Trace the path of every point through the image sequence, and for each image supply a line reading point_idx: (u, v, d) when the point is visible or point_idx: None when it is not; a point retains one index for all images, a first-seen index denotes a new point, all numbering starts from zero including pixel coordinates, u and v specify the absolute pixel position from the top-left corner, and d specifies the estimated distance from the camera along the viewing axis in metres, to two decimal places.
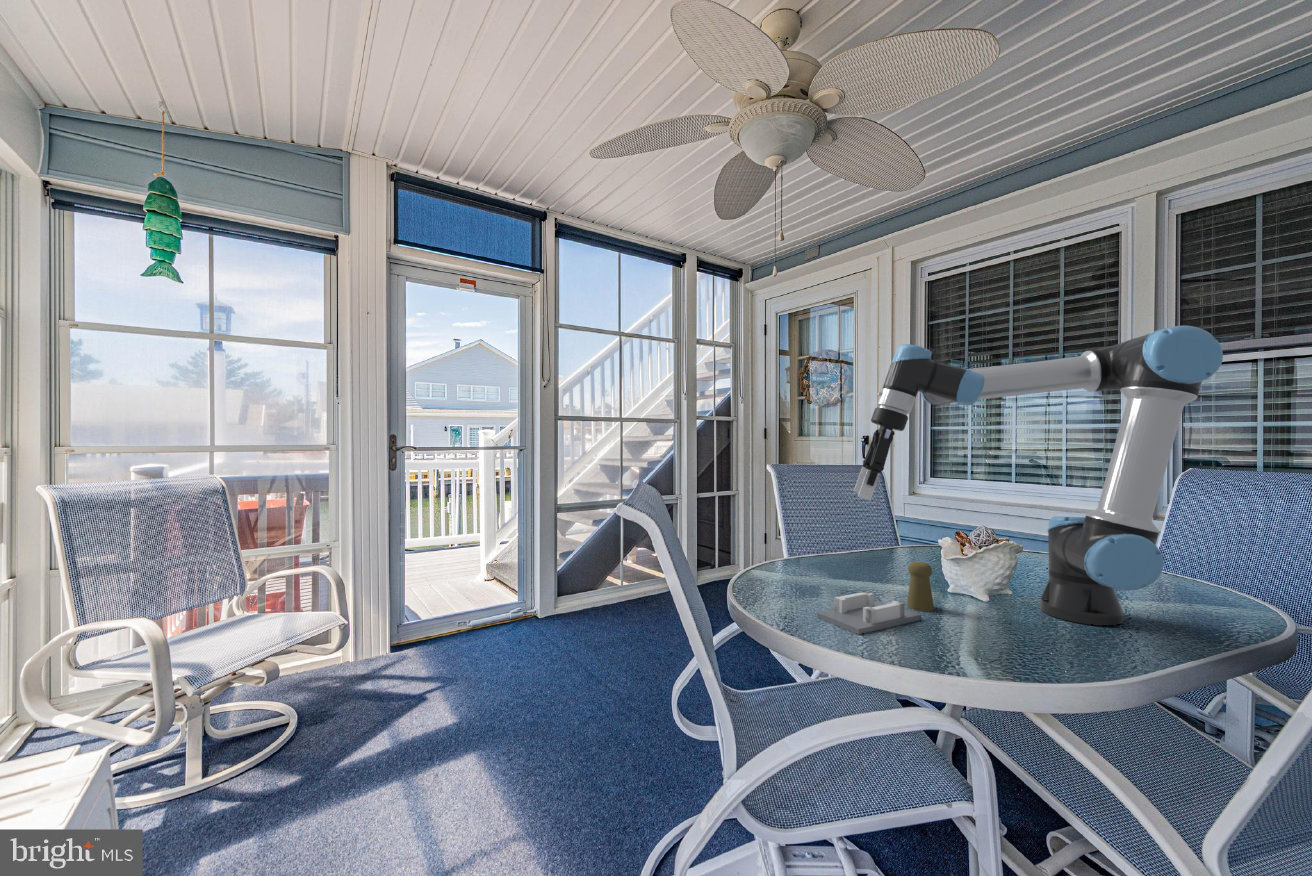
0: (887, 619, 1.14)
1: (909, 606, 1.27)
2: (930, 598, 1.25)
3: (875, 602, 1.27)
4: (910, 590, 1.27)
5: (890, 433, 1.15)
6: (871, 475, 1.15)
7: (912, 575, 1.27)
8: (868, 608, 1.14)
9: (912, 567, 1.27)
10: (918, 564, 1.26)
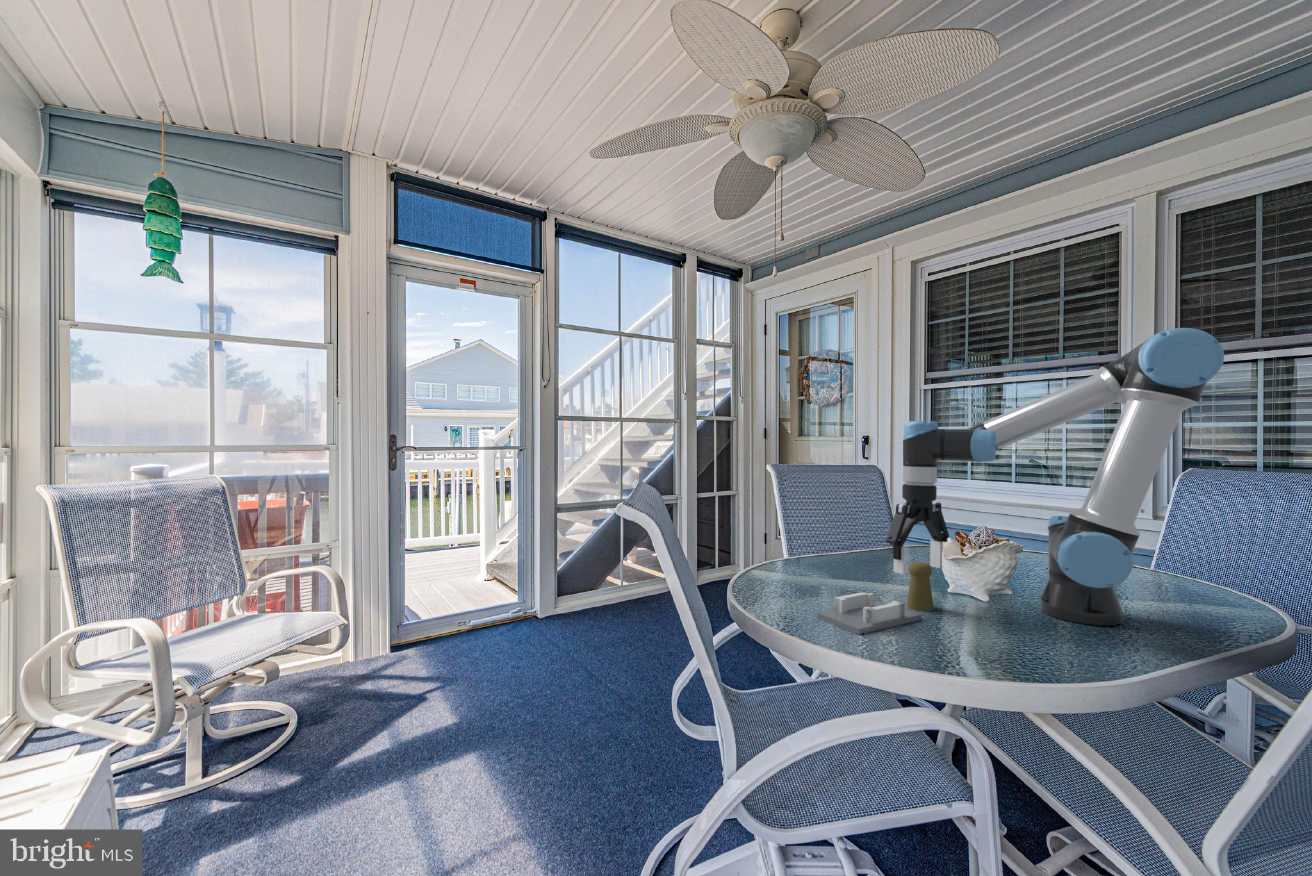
0: (887, 619, 1.14)
1: (909, 606, 1.27)
2: (930, 598, 1.25)
3: (875, 602, 1.27)
4: (910, 590, 1.27)
5: (902, 507, 1.24)
6: (894, 550, 1.24)
7: (912, 575, 1.27)
8: (868, 608, 1.14)
9: (912, 567, 1.27)
10: (918, 564, 1.26)
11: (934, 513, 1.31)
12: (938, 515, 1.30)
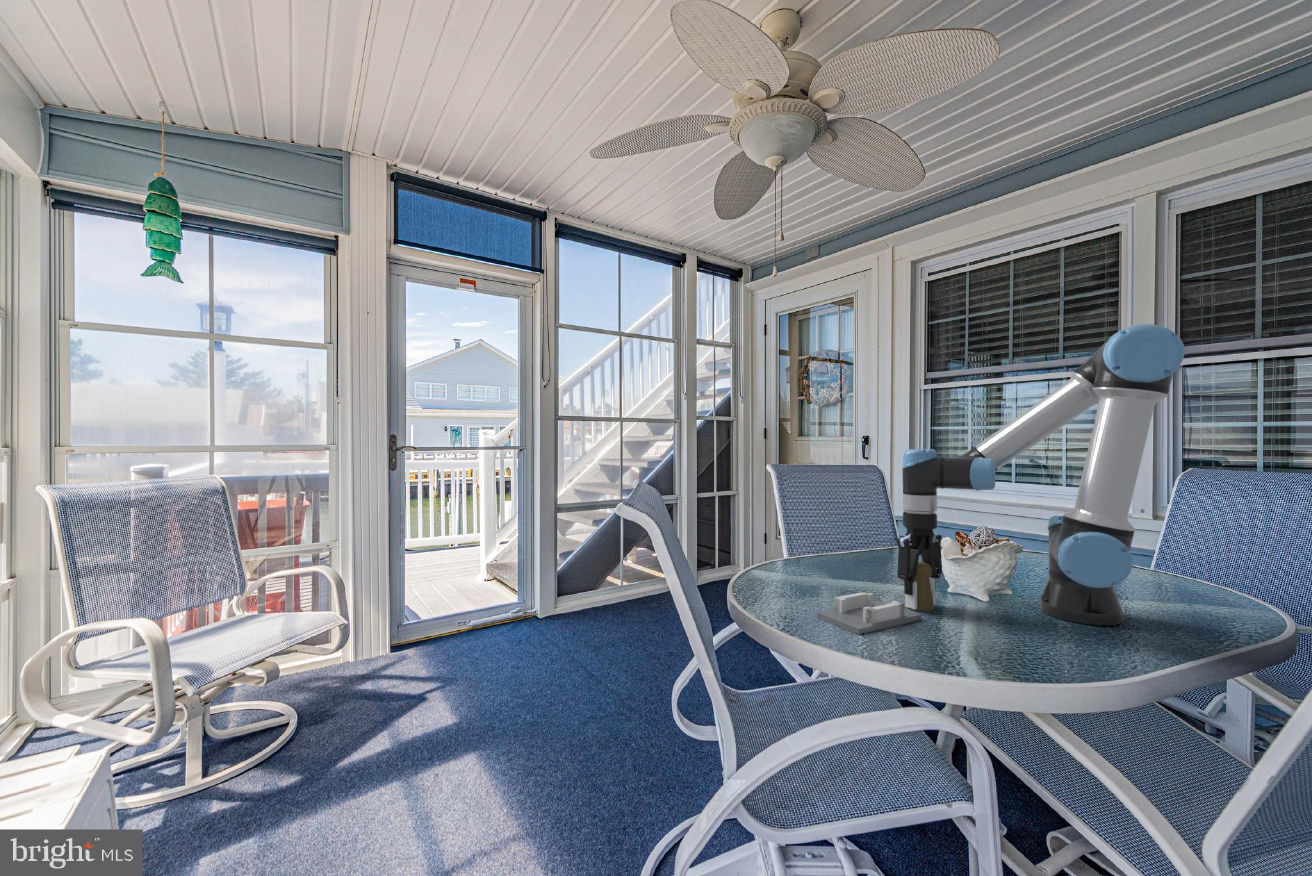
0: (887, 619, 1.14)
1: None
2: (930, 598, 1.25)
3: (875, 602, 1.27)
4: None
5: (903, 542, 1.24)
6: (905, 585, 1.26)
7: None
8: (868, 608, 1.14)
9: None
10: (918, 564, 1.26)
11: (933, 544, 1.30)
12: (936, 547, 1.29)
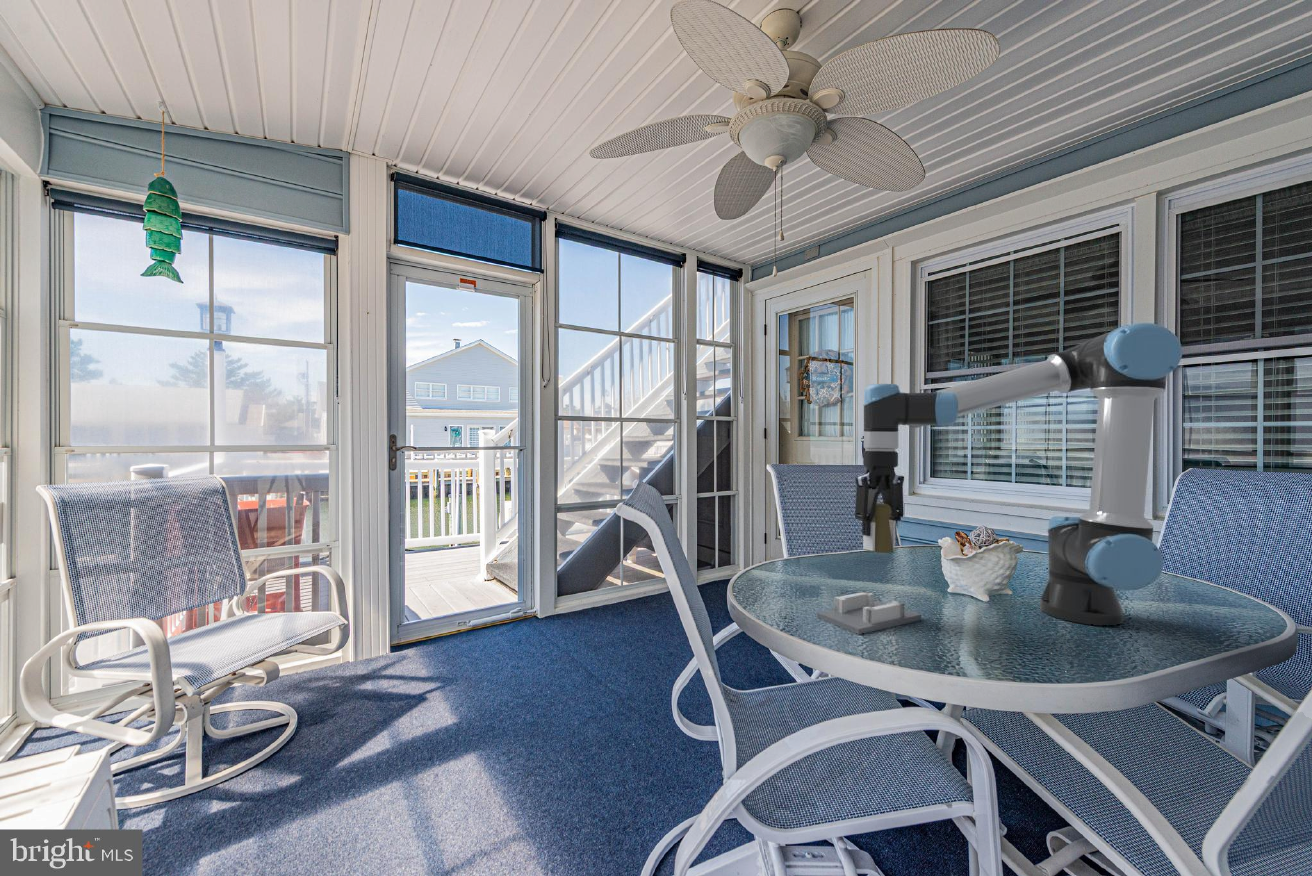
0: (887, 619, 1.14)
1: None
2: (889, 539, 1.20)
3: (875, 602, 1.27)
4: None
5: (861, 480, 1.19)
6: (863, 525, 1.20)
7: None
8: (868, 608, 1.14)
9: None
10: (877, 504, 1.21)
11: (894, 486, 1.24)
12: (898, 488, 1.23)
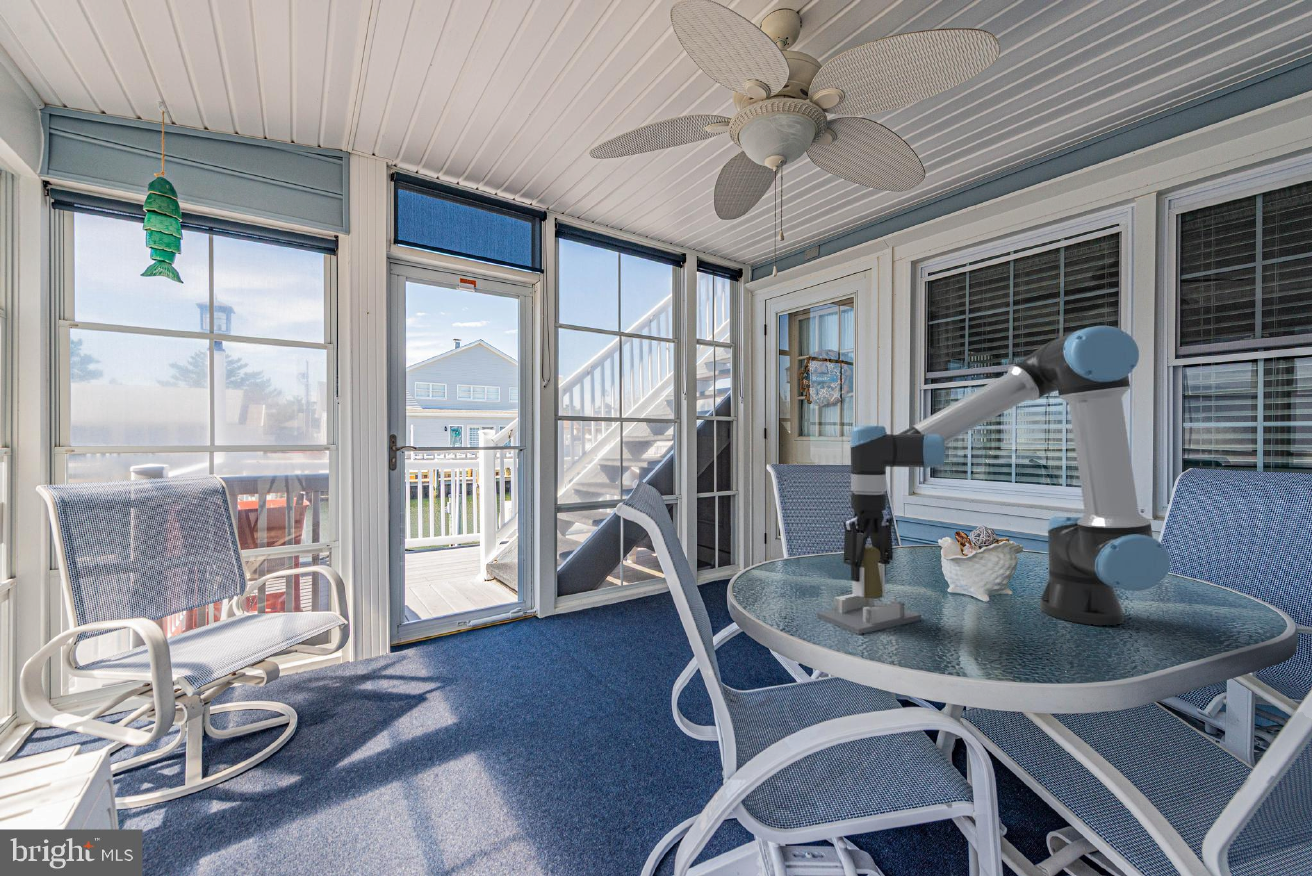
0: (887, 619, 1.14)
1: None
2: (878, 584, 1.17)
3: (875, 602, 1.27)
4: None
5: (849, 525, 1.16)
6: (852, 571, 1.17)
7: None
8: (868, 608, 1.14)
9: None
10: (866, 549, 1.18)
11: (883, 528, 1.22)
12: (886, 530, 1.21)
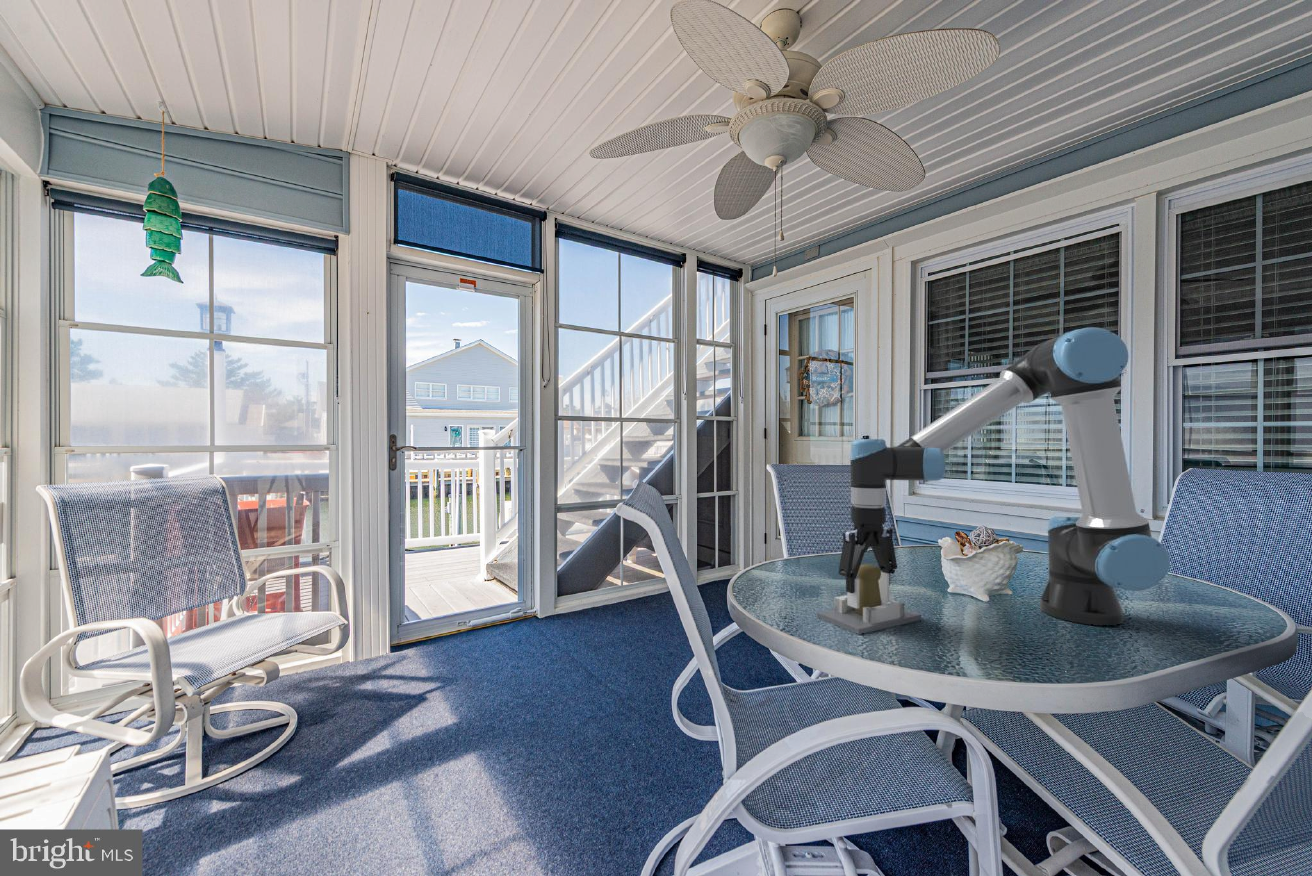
0: (887, 619, 1.14)
1: (857, 612, 1.19)
2: (878, 603, 1.17)
3: None
4: None
5: (848, 536, 1.16)
6: (847, 582, 1.17)
7: (860, 578, 1.19)
8: (868, 608, 1.14)
9: (860, 570, 1.19)
10: (866, 567, 1.18)
11: (884, 539, 1.22)
12: (888, 542, 1.21)
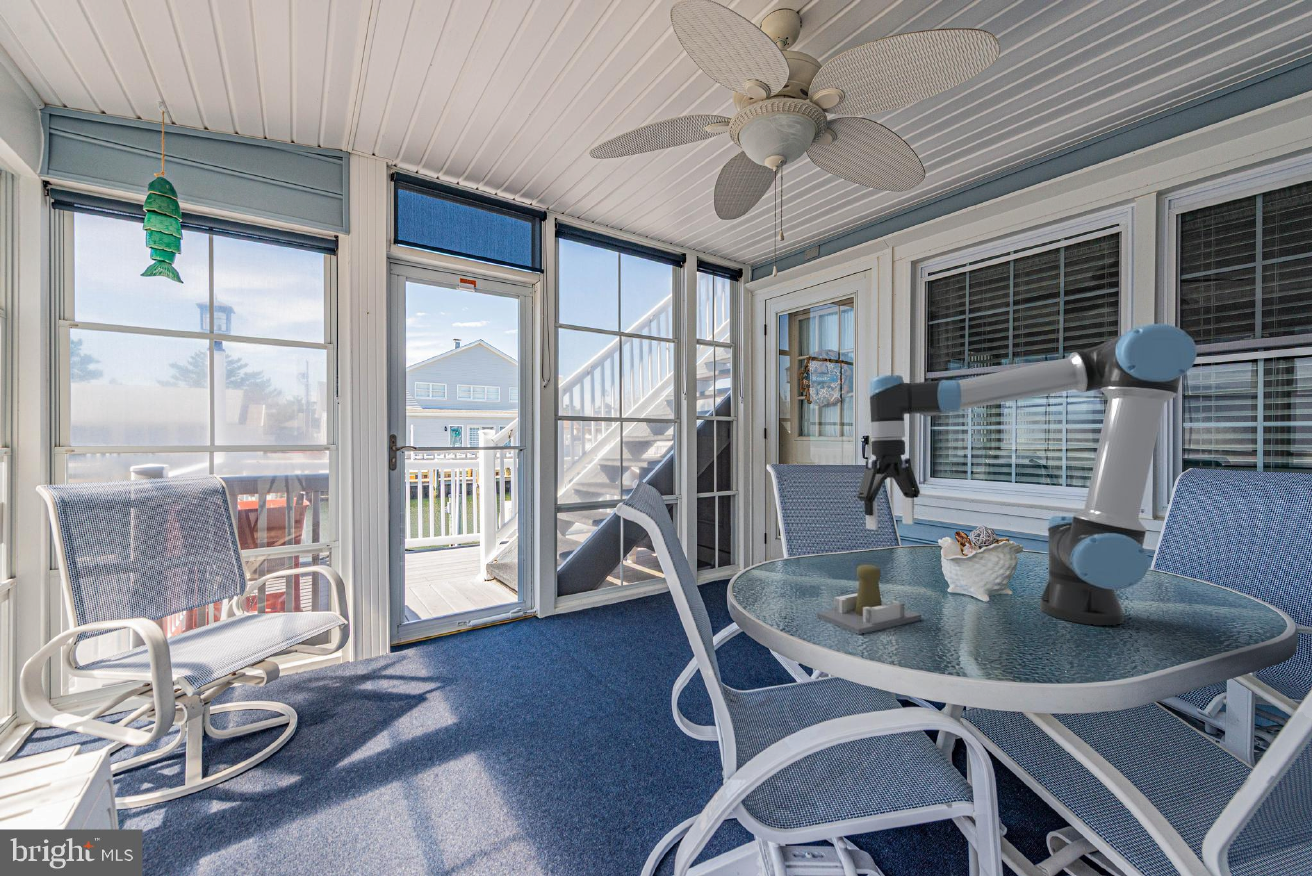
0: (887, 619, 1.14)
1: (857, 612, 1.19)
2: (878, 604, 1.17)
3: None
4: (858, 595, 1.19)
5: (871, 462, 1.23)
6: (865, 506, 1.23)
7: (860, 579, 1.19)
8: (868, 608, 1.14)
9: (859, 570, 1.19)
10: (866, 568, 1.18)
11: (904, 469, 1.30)
12: (908, 471, 1.29)
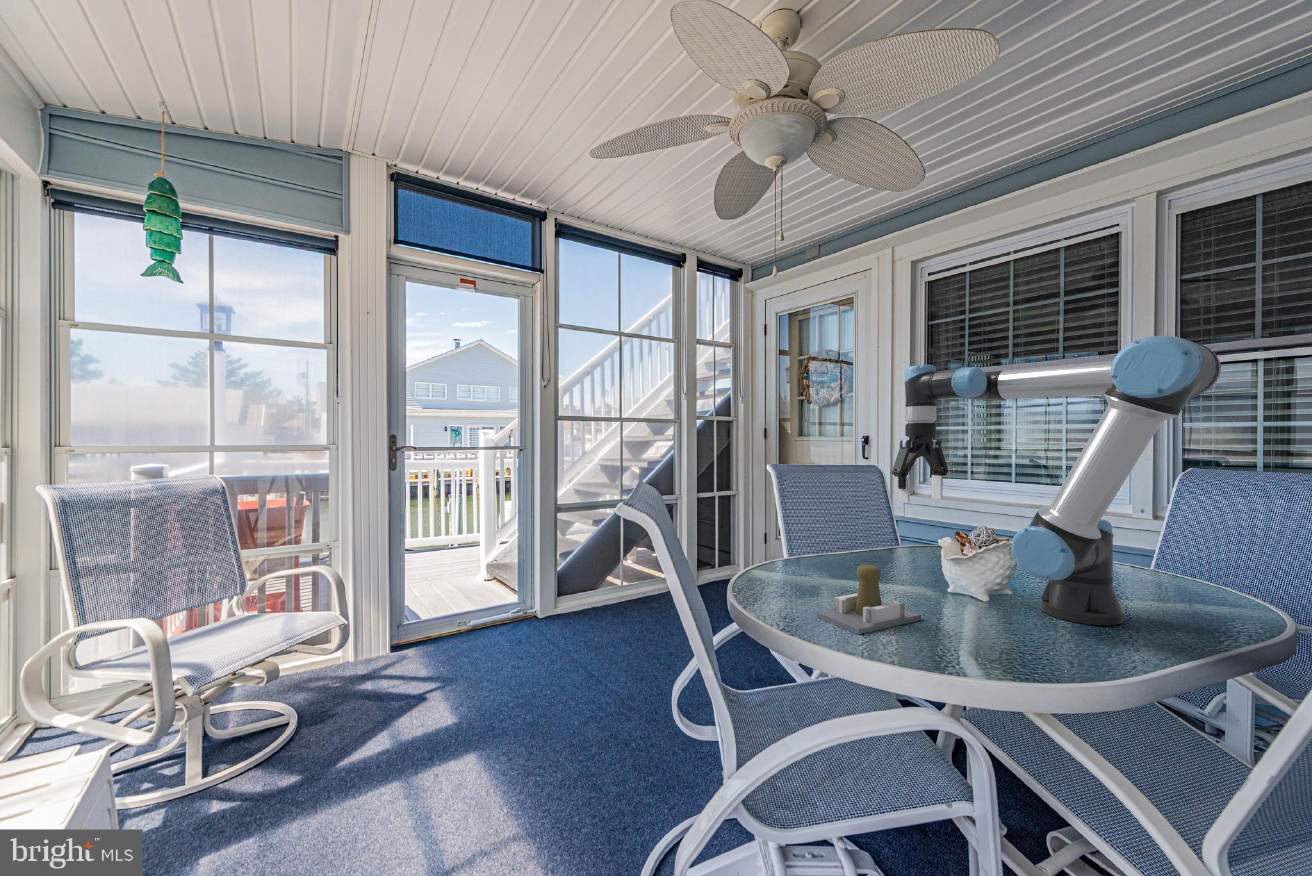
0: (887, 619, 1.14)
1: (857, 612, 1.19)
2: (878, 604, 1.17)
3: None
4: (858, 595, 1.19)
5: (905, 442, 1.38)
6: (899, 480, 1.38)
7: (860, 579, 1.19)
8: (868, 608, 1.14)
9: (859, 570, 1.19)
10: (866, 568, 1.18)
11: (934, 450, 1.44)
12: (938, 451, 1.44)
